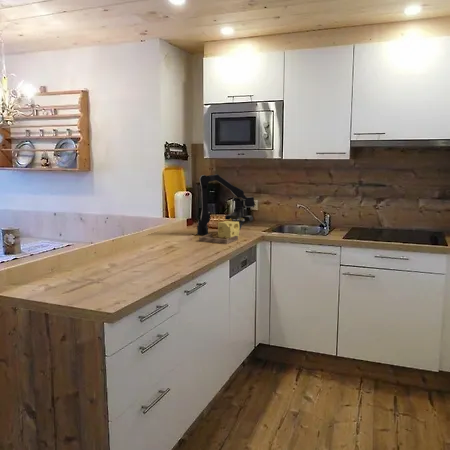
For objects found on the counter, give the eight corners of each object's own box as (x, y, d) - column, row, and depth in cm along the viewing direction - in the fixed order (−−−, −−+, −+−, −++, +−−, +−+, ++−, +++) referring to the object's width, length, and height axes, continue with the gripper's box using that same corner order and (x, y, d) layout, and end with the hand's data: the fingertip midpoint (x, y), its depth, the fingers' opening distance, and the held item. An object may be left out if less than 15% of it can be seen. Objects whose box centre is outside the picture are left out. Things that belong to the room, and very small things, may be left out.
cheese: (230, 239, 281) (230, 223, 279) (217, 237, 288) (216, 222, 286) (239, 236, 289) (239, 221, 288) (226, 235, 296) (226, 220, 294)
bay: (199, 241, 276) (198, 237, 276) (210, 237, 288) (210, 233, 288) (227, 243, 266) (226, 239, 266) (237, 239, 278) (237, 235, 278)
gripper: (221, 208, 296) (221, 231, 299) (246, 209, 287) (246, 233, 290) (229, 206, 306) (229, 228, 308) (253, 207, 297) (253, 230, 299)
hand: (239, 230), depth 301 cm, fingers closed
